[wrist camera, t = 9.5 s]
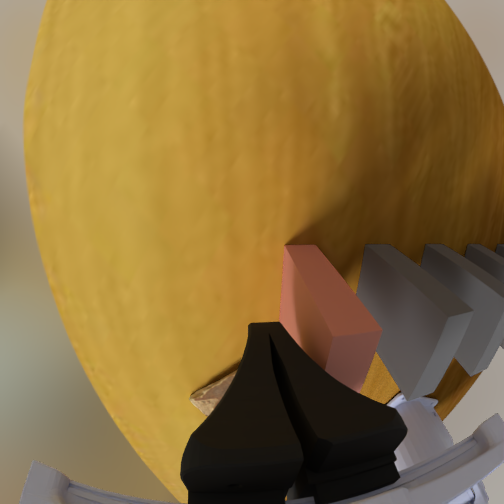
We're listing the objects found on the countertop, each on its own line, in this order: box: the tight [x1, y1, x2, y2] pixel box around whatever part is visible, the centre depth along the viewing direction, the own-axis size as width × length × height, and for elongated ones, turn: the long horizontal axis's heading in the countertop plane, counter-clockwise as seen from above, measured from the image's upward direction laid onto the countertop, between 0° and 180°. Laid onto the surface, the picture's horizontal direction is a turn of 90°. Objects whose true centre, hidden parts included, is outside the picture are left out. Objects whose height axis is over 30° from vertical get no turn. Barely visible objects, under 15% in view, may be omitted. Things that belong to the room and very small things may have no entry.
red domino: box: [279, 245, 383, 393], centre depth 13 cm, size 2×5×8 cm, turn 179°
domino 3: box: [465, 244, 504, 349], centre depth 14 cm, size 2×5×8 cm, turn 179°
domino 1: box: [356, 244, 474, 401], centre depth 13 cm, size 2×5×8 cm, turn 179°
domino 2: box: [420, 244, 504, 376], centre depth 14 cm, size 2×5×8 cm, turn 179°
